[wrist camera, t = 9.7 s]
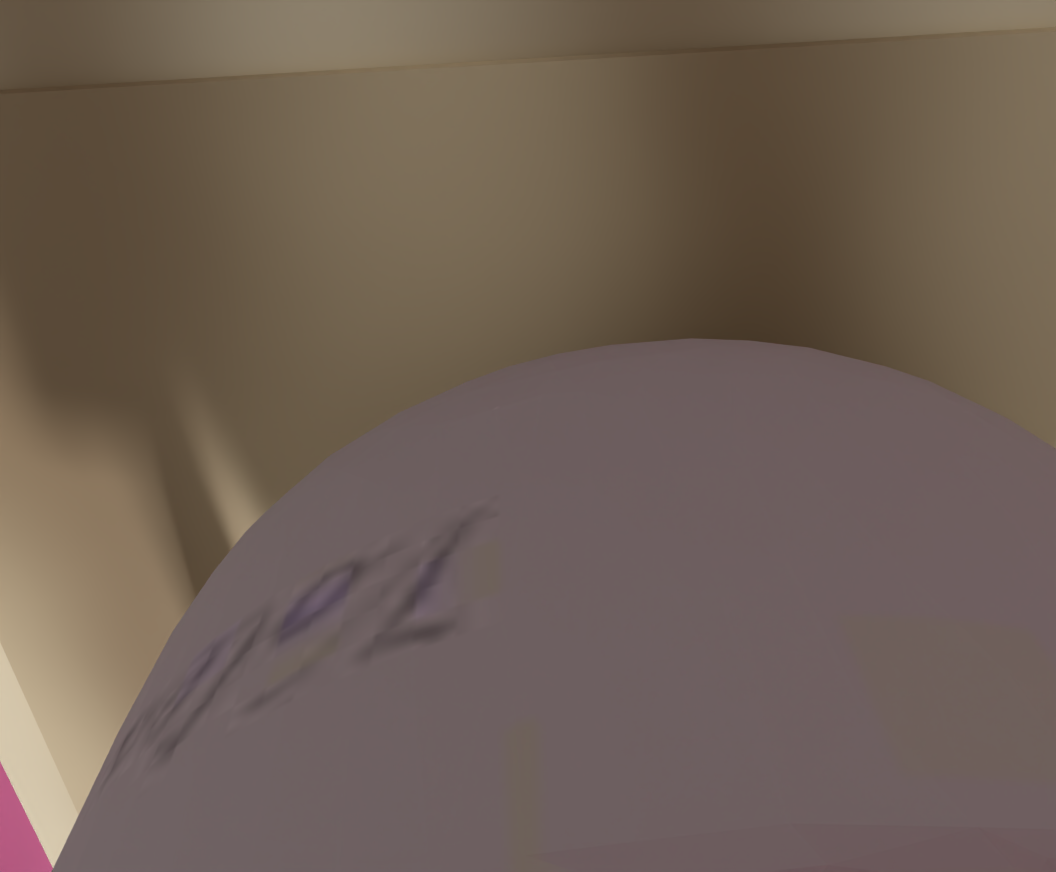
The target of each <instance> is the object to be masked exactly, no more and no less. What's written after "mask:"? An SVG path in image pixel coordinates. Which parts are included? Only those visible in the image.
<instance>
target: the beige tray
mask: <svg viewBox="0 0 1056 872" xmlns="http://www.w3.org/2000/svg"><path fill="white" fill-rule="evenodd" d="M690 338H694V339H721V340H748V341H758V342H766V343H775V344H783V345H791V346H800V347H808V348H813V349H817V350H821V351H825V352H829V353H833V354H837V355H841V356H845V357H849V358H853V359H858V360H862V361H866V362H870V363H874V364H878V365H882V366H886V367H889V368H892V369H895V370H898V371H901V372H904V373H907V374H910V375H913V376H916V377H919V378H922V379H925V380H928V381H930V382H932V383H935V384H937V385H939V386H941V387H943V388H945V389H947V390H949V391H951V392H954V393H956V394H958V395H960V396H962V397H964V398H966V399H968V400H971V401H973V402H975V403H977V404H979V405H981V406H983V407H985V408H987V409H989V410H991V411H994V412H996V413H998V414H1000V415H1002V416H1004V417H1006V418H1008V419H1009V420H1011V421H1013V422H1014V423H1016V424H1017V425H1019V426H1021V427H1022V428H1024V429H1025V430H1027V431H1029V432H1030V433H1032V434H1033V435H1035V436H1037V437H1038V438H1040V439H1041V440H1043V441H1044V442H1046V443H1048V444H1049V445H1051V446H1052V447H1054V448H1056V0H0V762H1V764H2V766H3V768H4V770H5V772H6V774H7V776H8V778H9V780H10V782H11V784H12V786H13V788H14V790H15V792H16V794H17V796H18V798H19V800H20V802H21V804H22V806H23V808H24V810H25V812H26V814H27V816H28V818H29V820H30V822H31V824H32V826H33V828H34V830H35V832H36V834H37V837H38V839H39V841H40V843H41V845H42V847H43V849H44V851H45V853H46V855H47V857H48V859H49V861H50V863H51V865H52V867H53V868H54V866H55V863H56V861H57V859H58V857H59V855H60V853H61V851H62V849H63V847H64V845H65V843H66V840H67V838H68V836H69V834H70V832H71V830H72V828H73V826H74V824H75V822H76V820H77V817H78V815H79V813H80V811H81V809H82V807H83V805H84V803H85V801H86V799H87V797H88V795H89V792H90V790H91V788H92V786H93V784H94V782H95V780H96V778H97V776H98V774H99V772H100V769H101V767H102V765H103V763H104V761H105V759H106V757H107V755H108V753H109V751H110V749H111V746H112V744H113V742H114V740H115V738H116V736H117V734H118V732H119V730H120V728H121V726H122V724H123V723H124V721H125V719H126V717H127V715H128V713H129V711H130V710H131V708H132V706H133V704H134V702H135V700H136V698H137V697H138V695H139V693H140V691H141V689H142V687H143V685H144V684H145V682H146V680H147V678H148V676H149V674H150V672H151V671H152V669H153V667H154V665H155V663H156V661H157V659H158V658H159V656H160V654H161V652H162V650H163V648H164V647H165V645H166V643H167V641H168V639H169V637H170V635H171V634H172V632H173V630H174V629H175V627H176V626H177V624H178V623H179V621H180V620H181V618H182V617H183V615H184V614H185V612H186V611H187V610H188V608H189V607H190V605H191V604H192V602H193V601H194V599H195V598H196V596H197V595H198V593H199V592H200V590H201V589H202V587H203V586H204V585H205V583H206V582H207V580H208V579H209V577H210V576H211V574H212V573H213V571H214V570H215V569H216V568H217V567H218V565H219V564H220V563H221V562H222V560H223V559H224V558H225V557H226V555H227V554H228V553H229V552H230V550H231V549H232V548H233V547H234V545H235V544H236V543H237V542H238V541H239V539H240V538H241V537H242V536H243V534H244V533H245V532H246V531H247V530H248V529H249V528H250V527H251V526H252V525H253V524H254V523H255V522H256V521H257V520H258V519H259V518H260V517H261V516H262V515H263V514H264V513H265V512H266V511H267V510H268V509H269V508H270V507H271V506H272V505H274V504H275V503H276V502H277V501H278V500H279V499H280V498H281V497H283V496H284V495H285V494H286V493H287V492H288V491H289V490H290V489H292V488H293V487H294V486H295V485H296V484H297V483H298V482H300V481H301V480H302V479H303V478H304V477H305V476H307V475H308V474H309V473H310V472H311V471H312V470H314V469H315V468H316V467H317V466H318V465H319V464H320V463H322V462H323V461H324V460H325V459H326V458H327V457H329V456H330V455H331V454H333V453H335V452H336V451H338V450H340V449H341V448H343V447H344V446H346V445H348V444H349V443H351V442H352V441H354V440H356V439H357V438H359V437H361V436H362V435H364V434H365V433H367V432H369V431H370V430H372V429H373V428H375V427H377V426H378V425H380V424H382V423H383V422H385V421H386V420H388V419H390V418H391V417H393V416H394V415H396V414H398V413H399V412H401V411H404V410H406V409H408V408H410V407H412V406H415V405H417V404H419V403H421V402H423V401H426V400H428V399H430V398H432V397H434V396H437V395H439V394H441V393H443V392H445V391H448V390H450V389H452V388H454V387H456V386H459V385H461V384H463V383H465V382H467V381H470V380H473V379H476V378H478V377H481V376H484V375H487V374H489V373H492V372H495V371H497V370H500V369H503V368H506V367H508V366H512V365H516V364H520V363H524V362H528V361H531V360H535V359H539V358H543V357H547V356H551V355H555V354H559V353H565V352H571V351H577V350H583V349H589V348H595V347H601V346H606V345H615V344H627V343H640V342H652V341H665V340H677V339H690Z"/></svg>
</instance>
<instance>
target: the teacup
mask: <svg viewBox="0 0 1056 872" xmlns="http://www.w3.org/2000/svg"><path fill="white" fill-rule="evenodd" d="M52 872H1056V448H1054V447H1052V446H1051V445H1049V444H1048V443H1046V442H1044V441H1043V440H1041V439H1040V438H1038V437H1037V436H1035V435H1033V434H1032V433H1030V432H1029V431H1027V430H1025V429H1024V428H1022V427H1021V426H1019V425H1017V424H1016V423H1014V422H1013V421H1011V420H1009V419H1008V418H1006V417H1004V416H1002V415H1000V414H998V413H996V412H994V411H991V410H989V409H987V408H985V407H983V406H981V405H979V404H977V403H975V402H973V401H971V400H968V399H966V398H964V397H962V396H960V395H958V394H956V393H954V392H951V391H949V390H947V389H945V388H943V387H941V386H939V385H937V384H935V383H932V382H930V381H928V380H925V379H922V378H919V377H916V376H913V375H910V374H907V373H904V372H901V371H898V370H895V369H892V368H889V367H886V366H882V365H878V364H874V363H870V362H866V361H862V360H858V359H853V358H849V357H845V356H841V355H837V354H833V353H829V352H825V351H821V350H817V349H813V348H808V347H800V346H791V345H783V344H775V343H766V342H758V341H748V340H721V339H694V338H690V339H677V340H665V341H652V342H640V343H627V344H615V345H606V346H601V347H595V348H589V349H583V350H577V351H571V352H565V353H559V354H555V355H551V356H547V357H543V358H539V359H535V360H531V361H528V362H524V363H520V364H516V365H512V366H508V367H506V368H503V369H500V370H497V371H495V372H492V373H489V374H487V375H484V376H481V377H478V378H476V379H473V380H470V381H467V382H465V383H463V384H461V385H459V386H456V387H454V388H452V389H450V390H448V391H445V392H443V393H441V394H439V395H437V396H434V397H432V398H430V399H428V400H426V401H423V402H421V403H419V404H417V405H415V406H412V407H410V408H408V409H406V410H404V411H401V412H399V413H398V414H396V415H394V416H393V417H391V418H390V419H388V420H386V421H385V422H383V423H382V424H380V425H378V426H377V427H375V428H373V429H372V430H370V431H369V432H367V433H365V434H364V435H362V436H361V437H359V438H357V439H356V440H354V441H352V442H351V443H349V444H348V445H346V446H344V447H343V448H341V449H340V450H338V451H336V452H335V453H333V454H331V455H330V456H329V457H327V458H326V459H325V460H324V461H323V462H322V463H320V464H319V465H318V466H317V467H316V468H315V469H314V470H312V471H311V472H310V473H309V474H308V475H307V476H305V477H304V478H303V479H302V480H301V481H300V482H298V483H297V484H296V485H295V486H294V487H293V488H292V489H290V490H289V491H288V492H287V493H286V494H285V495H284V496H283V497H281V498H280V499H279V500H278V501H277V502H276V503H275V504H274V505H272V506H271V507H270V508H269V509H268V510H267V511H266V512H265V513H264V514H263V515H262V516H261V517H260V518H259V519H258V520H257V521H256V522H255V523H254V524H253V525H252V526H251V527H250V528H249V529H248V530H247V531H246V532H245V533H244V534H243V536H242V537H241V538H240V539H239V541H238V542H237V543H236V544H235V545H234V547H233V548H232V549H231V550H230V552H229V553H228V554H227V555H226V557H225V558H224V559H223V560H222V562H221V563H220V564H219V565H218V567H217V568H216V569H215V570H214V571H213V573H212V574H211V576H210V577H209V579H208V580H207V582H206V583H205V585H204V586H203V587H202V589H201V590H200V592H199V593H198V595H197V596H196V598H195V599H194V601H193V602H192V604H191V605H190V607H189V608H188V610H187V611H186V612H185V614H184V615H183V617H182V618H181V620H180V621H179V623H178V624H177V626H176V627H175V629H174V630H173V632H172V634H171V635H170V637H169V639H168V641H167V643H166V645H165V647H164V648H163V650H162V652H161V654H160V656H159V658H158V659H157V661H156V663H155V665H154V667H153V669H152V671H151V672H150V674H149V676H148V678H147V680H146V682H145V684H144V685H143V687H142V689H141V691H140V693H139V695H138V697H137V698H136V700H135V702H134V704H133V706H132V708H131V710H130V711H129V713H128V715H127V717H126V719H125V721H124V723H123V724H122V726H121V728H120V730H119V732H118V734H117V736H116V738H115V740H114V742H113V744H112V746H111V749H110V751H109V753H108V755H107V757H106V759H105V761H104V763H103V765H102V767H101V769H100V772H99V774H98V776H97V778H96V780H95V782H94V784H93V786H92V788H91V790H90V792H89V795H88V797H87V799H86V801H85V803H84V805H83V807H82V809H81V811H80V813H79V815H78V817H77V820H76V822H75V824H74V826H73V828H72V830H71V832H70V834H69V836H68V838H67V840H66V843H65V845H64V847H63V849H62V851H61V853H60V855H59V857H58V859H57V861H56V863H55V866H54V868H53V870H52Z"/></svg>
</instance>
